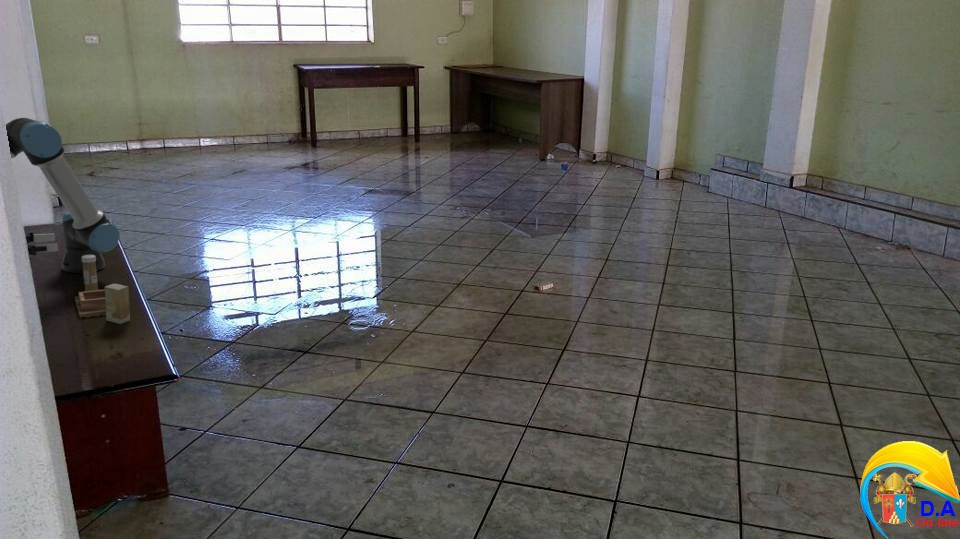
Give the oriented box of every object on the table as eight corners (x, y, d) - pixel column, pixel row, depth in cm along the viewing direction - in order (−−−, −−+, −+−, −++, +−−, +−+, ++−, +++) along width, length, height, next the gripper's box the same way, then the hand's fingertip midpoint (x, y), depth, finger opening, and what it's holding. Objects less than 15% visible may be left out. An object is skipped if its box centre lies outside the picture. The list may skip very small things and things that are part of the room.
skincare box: (106, 320, 247) (103, 286, 243) (116, 316, 251) (113, 282, 247) (121, 324, 245) (118, 289, 241) (131, 320, 249) (128, 286, 245)
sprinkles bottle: (99, 292, 272) (96, 257, 268) (85, 293, 269) (82, 258, 265) (97, 288, 275) (94, 253, 271) (83, 289, 273) (80, 254, 269)
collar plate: (75, 300, 262) (73, 288, 261) (112, 296, 268) (111, 285, 267) (79, 318, 247) (78, 305, 246) (119, 313, 254) (118, 301, 252)
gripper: (-15, 247, 261) (54, 243, 272) (-15, 267, 241) (60, 262, 253) (-17, 227, 259) (52, 223, 270) (-18, 245, 239) (58, 240, 250)
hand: (56, 242), depth 261 cm, fingers open, 13 cm apart
